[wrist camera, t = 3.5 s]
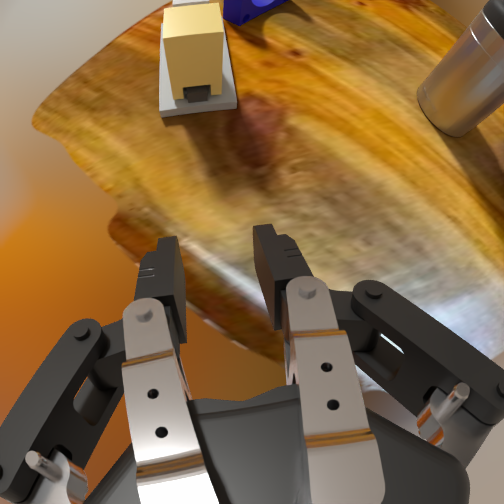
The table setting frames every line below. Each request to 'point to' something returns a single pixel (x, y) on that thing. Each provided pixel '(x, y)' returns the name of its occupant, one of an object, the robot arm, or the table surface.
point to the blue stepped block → (247, 9)
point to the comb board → (201, 107)
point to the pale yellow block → (194, 47)
